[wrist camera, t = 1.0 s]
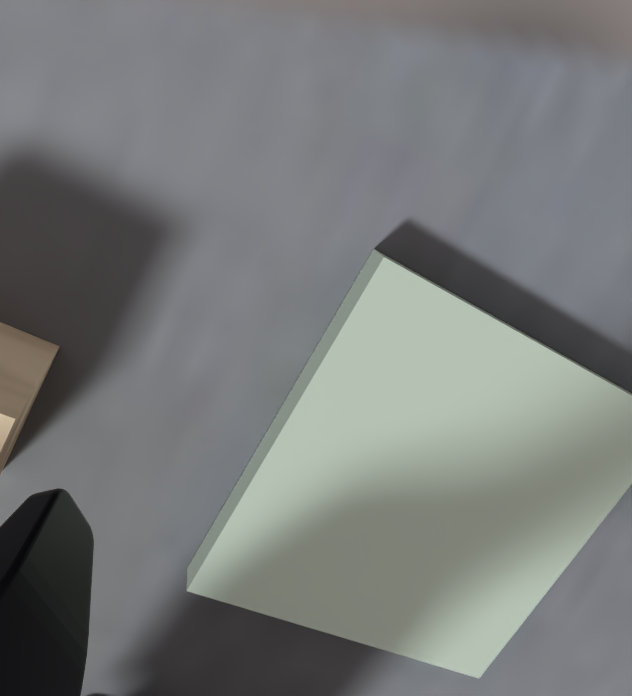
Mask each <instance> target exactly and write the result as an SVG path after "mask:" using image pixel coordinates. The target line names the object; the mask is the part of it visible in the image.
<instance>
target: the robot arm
mask: <svg viewBox="0 0 632 696" xmlns="http://www.w3.org/2000/svg"><path fill="white" fill-rule="evenodd" d="M93 549H94V539H93V533H92V530H91V527H90V525H89V523H88V522H87V520H86V519H85V517H84V516H83V514H82V513H81V511H80V510H79V508H78V506H77V505H76V503H75V502H74V500H73V499H72V497H71V496H70V494H69V493H68V492H67V491H65V490H64V489H53V490H49V491H44V492H40V493H36V494H33V495H31V496H30V497H29V498H28V499H26V500H25V501H24V503H23V504H22V505H21V506H20V507H19V508H18V509H17V510H16V511H15V512H14V513H13V514H12V515H11V516H10V517H9V518H8V519H7V520H6V521H5V522H4V523H3V524H2V525H1V527H0V696H80V695H81V689H82V683H83V677H84V671H85V664H86V657H87V647H88V636H89V618H90V601H91V584H92V566H93Z"/></svg>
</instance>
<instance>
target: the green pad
mask: <svg viewBox="0 0 632 696" xmlns="http://www.w3.org/2000/svg"><path fill="white" fill-rule="evenodd" d="M631 484H632V393H630V392H628V391H626V390H625V389H623V388H621V387H619V386H618V385H616V384H614V383H612V382H610V381H609V380H607V379H605V378H603V377H602V376H600V375H598V374H596V373H594V372H593V371H591V370H589V369H587V368H585V367H584V366H582V365H580V364H578V363H577V362H575V361H573V360H571V359H569V358H568V357H566V356H564V355H562V354H560V353H559V352H557V351H555V350H553V349H552V348H550V347H548V346H546V345H544V344H543V343H541V342H539V341H537V340H536V339H534V338H532V337H530V336H528V335H527V334H525V333H523V332H521V331H519V330H518V329H516V328H514V327H512V326H511V325H509V324H507V323H505V322H503V321H502V320H500V319H498V318H496V317H494V316H493V315H491V314H489V313H487V312H486V311H484V310H482V309H480V308H478V307H477V306H475V305H473V304H471V303H469V302H468V301H466V300H464V299H462V298H461V297H459V296H457V295H455V294H453V293H452V292H450V291H448V290H446V289H445V288H443V287H441V286H439V285H437V284H436V283H434V282H432V281H430V280H428V279H427V278H425V277H423V276H421V275H420V274H418V273H416V272H414V271H412V270H411V269H409V268H407V267H405V266H403V265H402V264H400V263H398V262H396V261H395V260H393V259H391V258H389V257H387V256H386V255H384V254H382V253H380V252H379V251H377V250H375V249H374V250H373V251H372V253H371V255H370V256H369V258H368V260H367V262H366V263H365V265H364V267H363V268H362V270H361V272H360V274H359V275H358V277H357V279H356V280H355V282H354V284H353V286H352V287H351V289H350V291H349V292H348V294H347V296H346V298H345V299H344V301H343V303H342V304H341V306H340V308H339V309H338V311H337V313H336V315H335V316H334V318H333V320H332V321H331V323H330V325H329V327H328V328H327V330H326V332H325V333H324V335H323V337H322V339H321V340H320V342H319V344H318V345H317V347H316V349H315V351H314V352H313V354H312V356H311V357H310V359H309V361H308V363H307V364H306V366H305V368H304V369H303V371H302V373H301V375H300V376H299V378H298V380H297V381H296V383H295V385H294V386H293V388H292V390H291V392H290V393H289V395H288V397H287V398H286V400H285V402H284V404H283V405H282V407H281V409H280V410H279V412H278V414H277V416H276V417H275V419H274V421H273V422H272V424H271V426H270V428H269V429H268V431H267V433H266V434H265V436H264V438H263V440H262V441H261V443H260V445H259V446H258V448H257V450H256V452H255V453H254V455H253V457H252V458H251V460H250V462H249V464H248V465H247V467H246V469H245V470H244V472H243V474H242V475H241V477H240V479H239V481H238V482H237V484H236V486H235V487H234V489H233V491H232V493H231V494H230V496H229V498H228V499H227V501H226V503H225V505H224V506H223V508H222V510H221V511H220V513H219V515H218V517H217V518H216V520H215V522H214V523H213V525H212V527H211V529H210V530H209V532H208V534H207V535H206V537H205V539H204V541H203V542H202V544H201V546H200V547H199V549H198V551H197V552H196V554H195V556H194V558H193V559H192V561H191V563H190V564H189V566H188V568H187V591H188V592H191V593H195V594H198V595H201V596H205V597H208V598H211V599H215V600H218V601H221V602H225V603H228V604H231V605H235V606H238V607H241V608H245V609H248V610H251V611H255V612H258V613H262V614H265V615H268V616H272V617H275V618H278V619H282V620H285V621H288V622H292V623H295V624H298V625H302V626H305V627H308V628H312V629H315V630H318V631H322V632H325V633H328V634H332V635H335V636H338V637H342V638H345V639H349V640H352V641H355V642H359V643H362V644H365V645H369V646H372V647H375V648H379V649H382V650H385V651H389V652H392V653H395V654H399V655H402V656H405V657H409V658H412V659H415V660H419V661H422V662H425V663H429V664H432V665H436V666H439V667H442V668H446V669H449V670H452V671H456V672H459V673H462V674H466V675H469V676H472V677H476V678H480V677H481V675H482V674H483V673H484V672H485V670H486V669H487V668H488V666H489V665H490V664H491V663H492V661H493V660H494V659H495V658H496V656H497V655H498V654H499V652H500V651H501V650H502V649H503V647H504V646H505V645H506V644H507V642H508V641H509V640H510V638H511V637H512V636H513V635H514V633H515V632H516V631H517V629H518V628H519V627H520V626H521V624H522V623H523V622H524V621H525V619H526V618H527V617H528V615H529V614H530V613H531V612H532V610H533V609H534V608H535V607H536V605H537V604H538V603H539V601H540V600H541V599H542V598H543V596H544V595H545V594H546V593H547V591H548V590H549V589H550V587H551V586H552V585H553V584H554V582H555V581H556V580H557V579H558V577H559V576H560V575H561V573H562V572H563V571H564V570H565V568H566V567H567V566H568V564H569V563H570V562H571V561H572V559H573V558H574V557H575V556H576V554H577V553H578V552H579V550H580V549H581V548H582V547H583V545H584V544H585V543H586V542H587V540H588V539H589V538H590V536H591V535H592V534H593V533H594V531H595V530H596V529H597V528H598V526H599V525H600V524H601V522H602V521H603V520H604V519H605V517H606V516H607V515H608V513H609V512H610V511H611V510H612V508H613V507H614V506H615V505H616V503H617V502H618V501H619V499H620V498H621V497H622V496H623V494H624V493H625V492H626V491H627V489H628V488H629V487H630V485H631Z"/></svg>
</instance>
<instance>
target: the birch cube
mask: <svg viewBox="0 0 632 696" xmlns="http://www.w3.org/2000/svg"><path fill="white" fill-rule="evenodd" d="M59 347H60V346H57V345H55V344H53V343H50V342H48V341H45V340H43V339H40V338H38V337H35V336H33V335H31V334H28V333H26V332H23V331H21V330H18V329H16V328H14V327H11V326H9V325H6V324H4V323H1V322H0V474H1V472H2V470H3V468H4V466H5V464H6V462H7V459H8V457H9V455H10V453H11V451H12V449H13V447H14V444H15V442H16V440H17V438H18V436H19V434H20V431H21V429H22V427H23V425H24V423H25V421H26V418H27V416H28V414H29V412H30V410H31V408H32V405H33V403H34V401H35V399H36V397H37V395H38V392H39V390H40V388H41V386H42V384H43V382H44V380H45V377H46V375H47V373H48V371H49V369H50V367H51V364H52V362H53V360H54V358H55V356H56V354H57V351H58V349H59Z"/></svg>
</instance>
